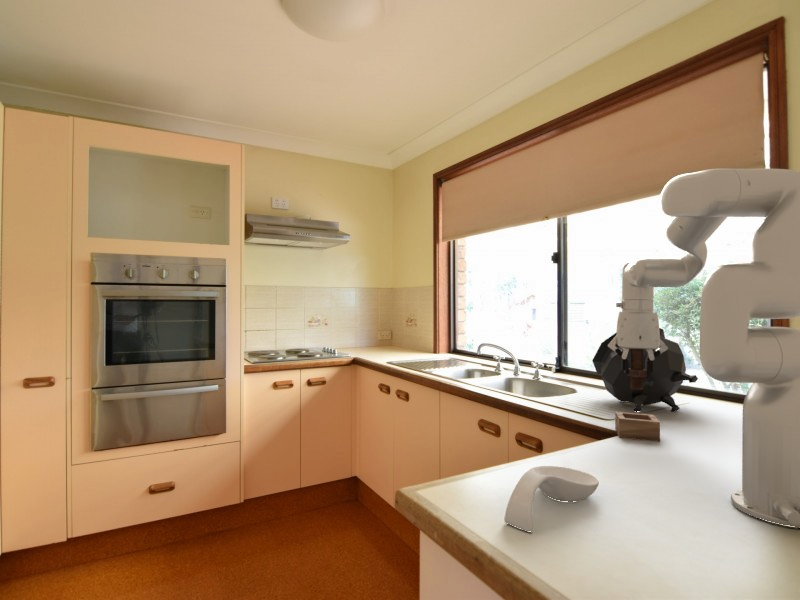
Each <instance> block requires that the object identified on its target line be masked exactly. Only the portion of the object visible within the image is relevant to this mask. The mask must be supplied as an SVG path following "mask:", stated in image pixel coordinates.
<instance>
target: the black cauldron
mask: <svg viewBox="0 0 800 600" xmlns="http://www.w3.org/2000/svg"><path fill="white" fill-rule="evenodd" d="M659 331H660V339H661V340H662V341H663V342H664V344H665V345H666V346H667V347H668V349H667V350H666V351H664V352H663V353H661V354H660V355H658V356H657V357H656V358H655V359H654V360H653V372H650V375H647V376H646V377H643V389H642V390H633V389H631V388H630V385H631V383H630V380H631V377H630V376H628V375H627V374H625V373H624V370H622V358H621V357H620V356H619V355H618V354H617V353H616V352H615V351H613V350H612V349H611V348H609V347H608V344H609V343H610V342H611V341H612V340H613V338H614V337H615V336H616V332H615V333H614V334H612V335H611V336H610V337H608V338H607V339H605V340H604V341H602V342H601V343H600V345H599V347H598V348H597V350H596V353H595V354H594V356H593V358H592V364H593V366H594V367H593V368H595V372H596V374H597V375H599V376H601V379H602V381H603V384H604V387H605V390H606V391H607V392H608V393H609V394H610V395H612V396H613V397H614V398H615V399H616V400H618V401H619V400H620V402H622V401H627V403H631V404H634V407H633V410H632V411H633V412H634V411H636V412H637V411H641V412H642V409H643V407H642V406H644V407H645V406H646V407H647V406H649V405H654V404H659V403H664V404H666V405H667V406H669V407H671V409H670V412H678V411H679V410H680V406H679V405H677V404H676V402H675V399H674V397H673V395H674V394H676V393H677V392H678V389H679V388H680V387H681V386H682V384H683V382H684V381H688V382H689V383H691V384H692V383H696V382H697V381H698V380H699V378H698V377H697V375H696V374H694V375H690V374H688V373H687V368H686V362H685V356H684V353H683V351H682V348H681V346H680V345H679V343H678V342H675V341H672V340H671V339H668V338H666V336H665V331H664V329H663V328H662V327H661V328H660V327H659ZM615 346H616V347H617V348H618V349H620V350H621V351H622V347H620V346H618V345H617V343H616V344H615ZM659 347H660V346H659ZM657 349H658V348H657ZM657 349H652V350H653V352H654V351H655V350H657ZM630 354H631V350H630V349H629V351H628V354H627V359H628V360H629V368H631V366H630V364H631V361H630V359H631V356H630ZM643 354H644V356H643V358H644V361H643V363H644V365H643V369H645V360H646V359H647V354H646V350H645V349H644V351H643ZM636 412H635V413H636Z"/></svg>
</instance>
